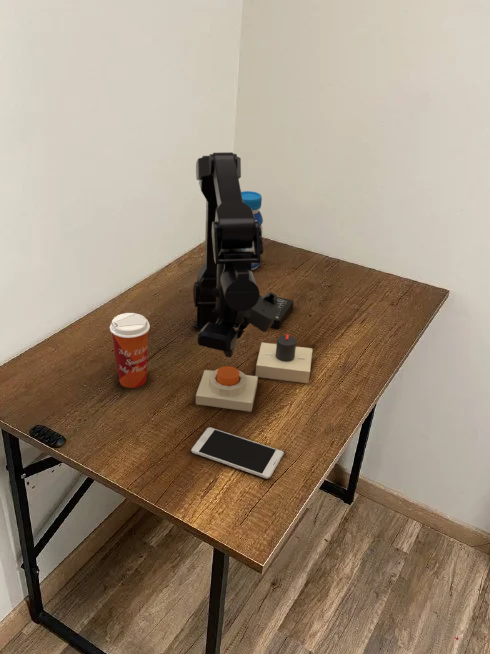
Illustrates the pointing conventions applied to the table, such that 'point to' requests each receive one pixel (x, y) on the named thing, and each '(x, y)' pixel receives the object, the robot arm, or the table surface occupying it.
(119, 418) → the table surface
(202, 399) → the button block
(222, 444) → the smartphone
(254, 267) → the beverage bottle
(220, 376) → the button
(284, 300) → the multiport hub
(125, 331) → the paper cup
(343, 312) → the table surface
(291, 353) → the timer dial
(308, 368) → the dial panel
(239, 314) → the robot arm
